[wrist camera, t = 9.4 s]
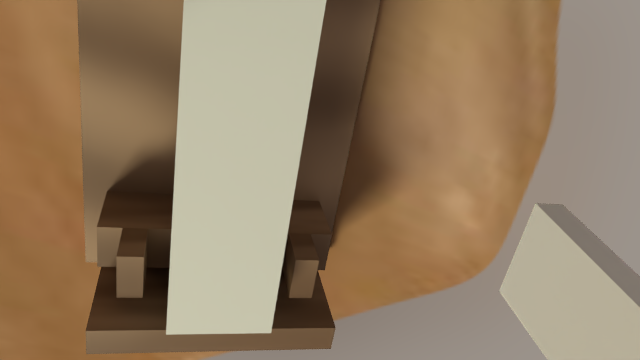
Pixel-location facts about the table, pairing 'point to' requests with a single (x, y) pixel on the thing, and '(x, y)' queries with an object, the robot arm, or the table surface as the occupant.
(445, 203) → the table surface
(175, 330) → the strip
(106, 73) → the rack
